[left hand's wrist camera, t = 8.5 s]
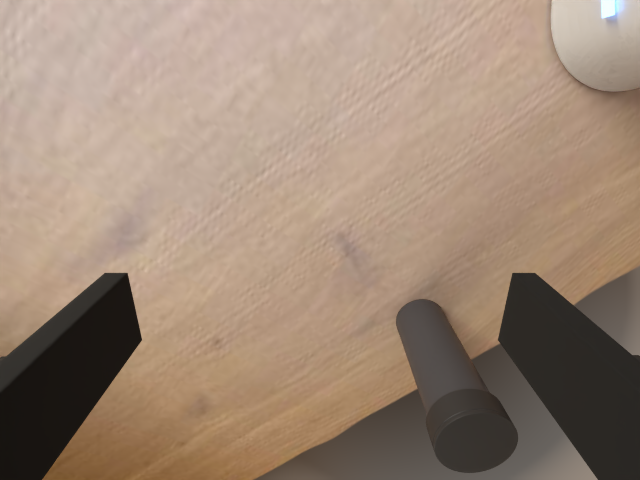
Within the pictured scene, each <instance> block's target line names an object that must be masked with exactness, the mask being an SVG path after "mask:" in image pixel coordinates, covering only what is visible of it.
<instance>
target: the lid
mask: <svg viewBox="0 0 640 480" xmlns="http://www.w3.org/2000/svg"><path fill="white" fill-rule="evenodd" d="M426 427H427V430H428V433H429V436H430V439H431V442H432V445H433V448H434V451H435V454H436V457H437V458H438V460H439V461H440V462H441V463H442V464H443V465H444V466H446V467H447V468H449V469H451V470H454V471H458V472H464V473H475V472H482V471H486V470H489V469H491V468H494V467H496V466H498V465H500V464H501V463H503V462H504V461H505V460H507V459H508V458H509V457H510V456H511V454H512V453H513V452H514V450H515V448H516V446H517V442H518V434H517V430H516V428H515V426H514V425H513V423H512V421H511V420H510V418H509V416H508V415H507V413H506V411H505V409H504V408H503V406H502V404H501V403H500V401H499V400H498V399H497V398H496V397H495V396H494V395H492V394H491V393H489V392H487V391H484V390H480V389H472V388H470V389H460V390H456V391H453V392H450V393H448V394H446V395H444V396H442V397H441V398H439V399H438V400H437V401H436V402H435V403H434V404H433V405H432V406H431V408H430V409H429V411H428V414H427V417H426Z"/></svg>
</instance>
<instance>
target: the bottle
mask: <svg viewBox="0 0 640 480" xmlns="http://www.w3.org/2000/svg"><path fill="white" fill-rule="evenodd" d="M396 326H397V329H398V332H399V335H400V338H401V341H402V344H403V346H404V349H405V352H406V355H407V358H408V361H409V364H410V367H411V370H412V373H413V376H414V379H415V382H416V385H417V388H418V390H419V393H420V396H421V399H422V402H423V405H424V408H425V411H426V414H428V411H429V409H430V408H431V406H432V405H433V404H434V403H435V402H436V401H437V400H438V399H439V398H441V397H442V396H444V395H446V394H448V393H450V392H453V391H456V390H460V389H470V388H472V389H480V390H484V391H487V392H489V391H488V389H487V387H486V386H485V384H484V382H483V380H482V379H481V377H480V375H479V373H478V372H477V370H476V368H475V366H474V365H473V363H472V361H471V359H470V358H469V356H468V354H467V352H466V351H465V349H464V347H463V346H462V344H461V342H460V340H459V339H458V337H457V335H456V333H455V332H454V330H453V328H452V326H451V325H450V323H449V321H448V319H447V318H446V316H445V314H444V312H443V311H442V309H441V308H440V306H439V305H438V304H436V303H435V302H433V301H430V300H424V299H422V300H415V301H412V302H410V303H408V304H406V305H405V306H404V307H403V308H402V309H401V310H400V311H399V313H398V315H397V318H396ZM489 393H490V392H489Z"/></svg>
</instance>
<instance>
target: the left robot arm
mask: <svg viewBox="0 0 640 480" xmlns="http://www.w3.org/2000/svg"><path fill="white" fill-rule="evenodd" d="M141 341H142V338H141V333H140V328H139V324H138V319H137V315H136V310H135V305H134V301H133V296H132V292H131V287H130V282H129V278H128V273H104V274H103V275H102V276H101V277H100V278H99V279H97V280H96V281H95V282H94V283H93V284H91V285H90V286H89V287H88V288H87V289H86V290H84V291H83V292H82V293H81V294H80V295H78V296H77V297H76V298H75V299H74V300H73V301H71V302H70V303H69V304H68V305H67V306H65V307H64V308H63V309H62V310H61V311H60V312H58V313H57V314H56V315H55V316H54V317H52V318H51V319H50V320H49V321H48V322H46V323H45V324H44V325H43V326H42V327H41V328H39V329H38V330H37V331H36V332H35V333H33V334H32V335H31V336H30V337H29V338H28V339H26V340H25V341H24V342H23V343H22V344H20V345H19V346H18V347H17V348H16V349H15V350H13V351H12V352H11V353H10V354H9V355H7V356H6V357H1V358H0V480H42V479H43V478H44V476H45V475H46V473H47V472H48V471H49V469H50V468H51V466H52V465H53V464H54V462H55V461H56V459H57V458H58V457H59V455H60V454H61V452H62V451H63V450H64V448H65V447H66V445H67V444H68V443H69V441H70V440H71V438H72V437H73V436H74V434H75V433H76V431H77V430H78V429H79V427H80V426H81V424H82V423H83V422H84V420H85V419H86V417H87V416H88V415H89V413H90V412H91V410H92V409H93V408H94V406H95V405H96V403H97V402H98V401H99V399H100V398H101V396H102V395H103V394H104V392H105V391H106V390H107V388H108V387H109V385H110V384H111V383H112V381H113V380H114V378H115V377H116V376H117V374H118V373H119V371H120V370H121V369H122V367H123V366H124V364H125V363H126V362H127V360H128V359H129V357H130V356H131V355H132V353H133V352H134V350H135V349H136V348H137V346H138V345H139V343H140V342H141ZM498 341H499V342H500V343H501V345H502V346H503V348H504V349H505V350H506V352H507V353H508V354H509V356H510V357H511V359H512V360H513V362H514V363H515V364H516V366H517V367H518V369H519V370H520V371H521V373H522V374H523V375H524V377H525V378H526V380H527V381H528V382H529V384H530V385H531V387H532V388H533V390H534V391H535V392H536V394H537V395H538V396H539V398H540V399H541V401H542V402H543V403H544V405H545V406H546V408H547V409H548V410H549V412H550V413H551V415H552V416H553V417H554V419H555V420H556V422H557V423H558V424H559V426H560V427H561V429H562V430H563V431H564V433H565V434H566V435H567V437H568V438H569V440H570V441H571V442H572V444H573V445H574V447H575V448H576V450H577V451H578V452H579V454H580V455H581V456H582V458H583V459H584V461H585V462H586V463H587V465H588V466H589V468H590V469H591V471H592V472H593V473H594V475H595V476H596V478H597V479H598V480H640V356H639V355H631V354H630V353H629V352H628V351H627V350H625V349H624V348H623V347H622V346H621V345H619V344H618V343H617V342H616V341H615V340H614V339H612V338H611V337H610V336H609V335H608V334H606V333H605V332H604V331H603V330H602V329H601V328H599V327H598V326H597V325H596V324H595V323H593V322H592V321H591V320H590V319H589V318H588V317H586V316H585V315H584V314H583V313H582V312H580V311H579V310H578V309H577V308H576V307H575V306H573V305H572V304H571V303H570V302H569V301H567V300H566V299H565V298H564V297H563V296H562V295H560V294H559V293H558V292H557V291H556V290H554V289H553V288H552V287H551V286H550V285H549V284H547V283H546V282H545V281H544V280H543V279H541V278H540V277H539V276H538V275H537V274H536V273H512V278H511V282H510V287H509V292H508V296H507V301H506V305H505V310H504V315H503V319H502V324H501V328H500V333H499V338H498Z"/></svg>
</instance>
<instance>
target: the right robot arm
mask: <svg viewBox="0 0 640 480" xmlns="http://www.w3.org/2000/svg"><path fill="white" fill-rule="evenodd" d="M551 31H552V37H553V42H554V46H555V49H556V52H557V54H558V56H559V58H560V60H561V62H562V64H563V65H564V67H565V68H566V69H567V70H568V72H569V73H570V74H571V75H572V76H573V77H574V78H576V79H577V80H578V81H580V82H581V83H583V84H585V85H587V86H589V87H591V88H594V89H598V90H602V91H611V92H618V91H627V90H633V89H636V88H640V0H552V5H551Z"/></svg>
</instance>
